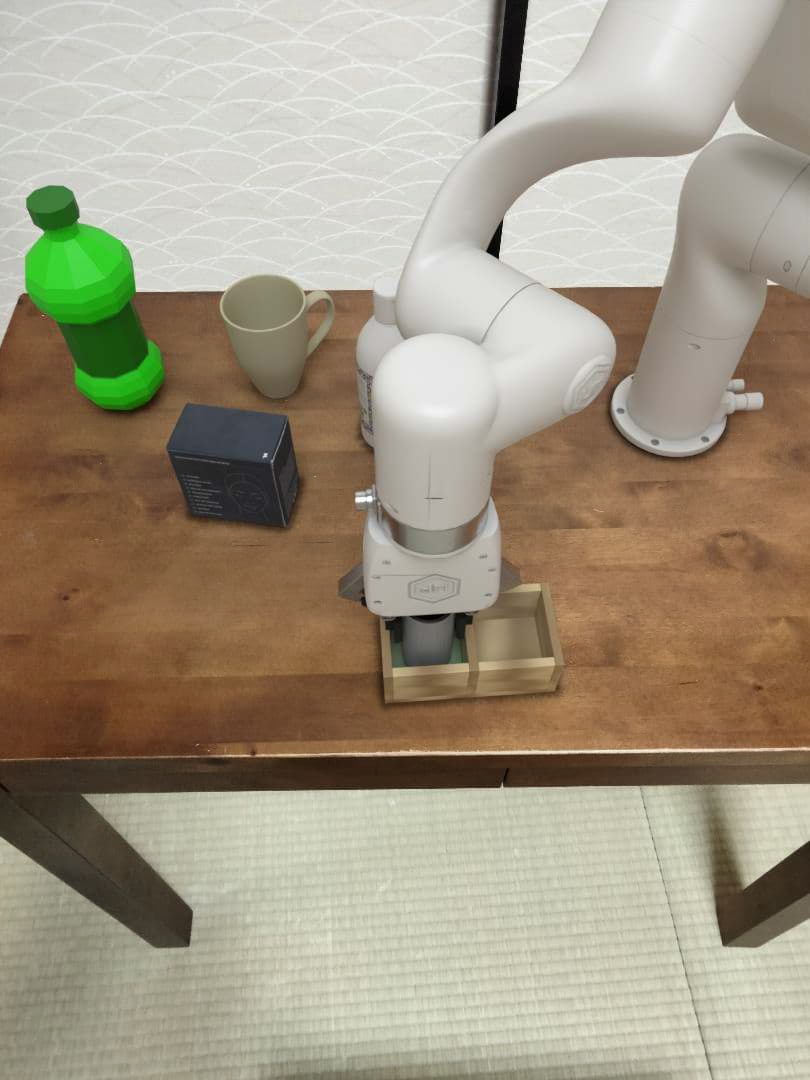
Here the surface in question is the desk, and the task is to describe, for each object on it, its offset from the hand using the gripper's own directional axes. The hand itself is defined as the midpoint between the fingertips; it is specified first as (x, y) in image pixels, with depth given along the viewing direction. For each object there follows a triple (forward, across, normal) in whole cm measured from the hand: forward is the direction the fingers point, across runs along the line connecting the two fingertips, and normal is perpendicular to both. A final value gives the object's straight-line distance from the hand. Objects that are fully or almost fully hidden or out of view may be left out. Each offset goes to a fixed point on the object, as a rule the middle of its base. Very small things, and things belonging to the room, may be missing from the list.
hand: (427, 624), depth 70 cm
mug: (+7, -13, +37) cm, 40 cm away
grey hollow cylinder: (+6, 0, 0) cm, 6 cm away
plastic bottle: (+7, -31, +36) cm, 48 cm away
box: (+7, -17, +20) cm, 27 cm away
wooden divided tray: (+7, +4, 0) cm, 8 cm away
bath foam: (+7, -1, +28) cm, 29 cm away
